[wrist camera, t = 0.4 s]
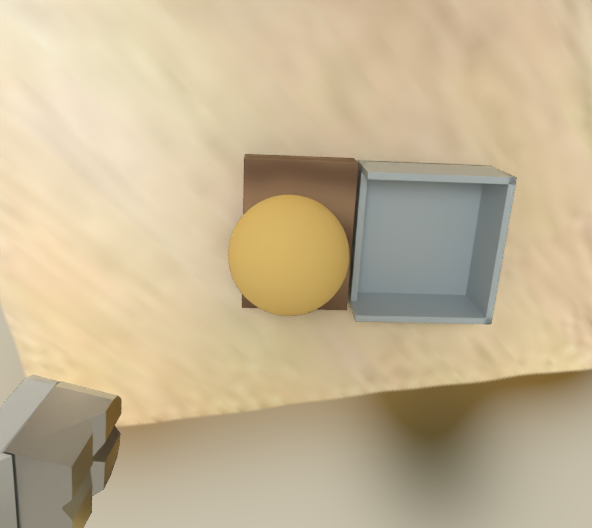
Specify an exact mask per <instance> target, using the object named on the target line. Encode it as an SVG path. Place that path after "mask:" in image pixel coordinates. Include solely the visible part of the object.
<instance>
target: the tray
mask: <svg viewBox="0 0 592 528" xmlns="http://www.w3.org/2000/svg"><path fill="white" fill-rule="evenodd" d="M516 178H517V177H514V176H512V175H510V174H508V173H505V172H503V171H501V170H499V169H496V168H494V167H492V166H484V165H458V164H432V163H406V162H380V161H358V175H357V187H356V200H355V212H354V224H353V237H352V249H351V262H350V274H349V286H348V301H349V304H350V307H351V310H352V313H353V316H354V319H355V321H359V322H406V323H452V324H491V322H492V317H493V311H494V305H495V299H496V294H497V288H498V282H499V276H500V270H501V265H502V259H503V253H504V247H505V242H506V236H507V230H508V224H509V218H510V213H511V207H512V201H513V195H514V190H515V184H516Z"/></svg>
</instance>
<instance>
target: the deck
mask: <svg viewBox="0 0 592 528" xmlns="http://www.w3.org/2000/svg"><path fill="white" fill-rule="evenodd" d="M357 175H358V163H357V161H356V160H355V159H354V158H332V157H306V156H280V155H255V154H245V158H244V198H243V215H244V214H245V213H246V212H247V211H248V210H249V209H250V208H251V207H253V206H254V205H256V204H257V203H259V202H261V201H263V200H265V199H267V198H270V197H274V196H279V195H299V196H303V197H307V198H310V199H313V200H315V201H317V202H319V203H321V204H322V205H323V206H325V207H326V208H328V209H329V210H330V211H331V212H332V213H333V214H334V216H335V217H336V218H337V219H338V221H339V222H340V224H341V225H342V227H343V229H344V231H345V234H346V237H347V241H348V245H349V265H348V270H347V274H346V277H345V279H344V281H343V283H342V285H341V287H340V288H339V290H338V291H337V292H336V294H335V295H334V296H333V297H332V298H331V299H330V300H329V301H328V302H327V303H325V304H324V305H323V306H321V307H319V308H318V309H326V310H347V299H348V286H349V274H350V262H351V249H352V237H353V224H354V212H355V200H356V187H357ZM242 308H258V307H257V306H255V305H254V304H252V303H251V302H250V301H249V300H248V299H246V298H245V296H244V295H243V294H242Z"/></svg>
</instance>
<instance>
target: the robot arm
mask: <svg viewBox="0 0 592 528" xmlns="http://www.w3.org/2000/svg"><path fill="white" fill-rule="evenodd" d="M120 415H121V398H120V397H119V396H117V395H113V394H109V393H105V392H101V391H97V390H94V389H90V388H86V387H82V386H78V385H74V384H70V383H66V382H59V381H55V380H52V379H48V378H44V377H40V376H36V375H31V376H30V377H28V378H26V379H25V380H23V381H22V382H21V383H20V385H19V386H18V387H17V388H16V389H15V390H14V391H13V393H12V394H11V395H10V396H9V397H8V398H7V400H6V401H5V402H4V403H3V404H2V405H1V407H0V528H84V526H85V524H86V522H87V520H88V518H89V517H90V515H91V513H92V496H94V495H95V494H97V493H99V492H100V491H102V490H104V488H105V486H106V484H107V482H108V480H109V478H110V476H111V473H112V470H113V468H114V465H115V462H116V459H117V455H118V450H119V445H120V432H119V431H118V429H117V428H116V426H115V424H116V422H117V420H118V419H119V417H120Z"/></svg>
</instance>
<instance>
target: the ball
mask: <svg viewBox="0 0 592 528" xmlns="http://www.w3.org/2000/svg"><path fill="white" fill-rule="evenodd" d="M228 260H229V267H230V272H231V275H232V277H233V280H234V282H235V284H236V286H237V287H238V289H239V290H240V292H241V293H242V294H243V295H244V296H245V298H246V299H248V300H249V301H250V302H251V303H252V304H254V305H255V306H257V307H258V308H260V309H262V310H264V311H266V312H269V313H272V314H277V315H284V316H295V315H301V314H305V313H309V312H311V311H313V310H316V309H318V308H319V307H321V306H323V305H324V304H325V303H327V302H328V301H329V300H330V299H331V298H332V297H333V296H334V295H335V294H336V292H337V291H338V290H339V288H340V287H341V285H342V283H343V281H344V279H345V277H346V274H347V270H348V265H349V245H348V241H347V237H346V234H345V231H344V229H343V227H342V225H341V224H340V222H339V221H338V219H337V218H336V217H335V216H334V214H333V213H332V212H331V211H330V210H329V209H328V208H326V207H325V206H323V205H322V204H321V203H319V202H317V201H315V200H313V199H310V198H307V197H303V196H299V195H279V196H274V197H270V198H267V199H265V200H263V201H261V202H259V203H257V204H256V205H254V206H253V207H251V208H250V209H249V210H248V211H247V212H246V213H245V214H244V215H243V216H242V217H241V219H240V220H239V221H238V223H237V225H236V227H235V228H234V230H233V233H232V236H231V238H230V243H229V250H228Z"/></svg>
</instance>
